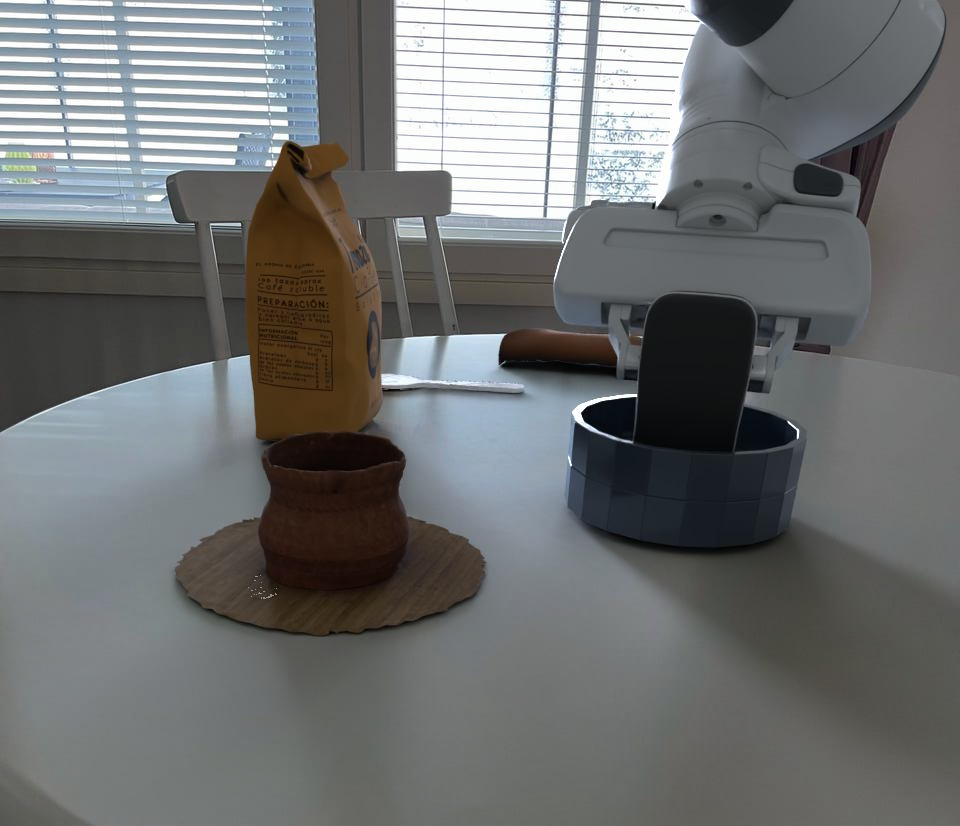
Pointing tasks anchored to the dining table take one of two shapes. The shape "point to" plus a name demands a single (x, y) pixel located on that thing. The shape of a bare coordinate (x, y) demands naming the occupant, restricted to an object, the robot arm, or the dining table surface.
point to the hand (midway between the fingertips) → (693, 381)
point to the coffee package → (311, 302)
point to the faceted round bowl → (683, 479)
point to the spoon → (446, 384)
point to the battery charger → (694, 370)
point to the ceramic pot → (331, 545)
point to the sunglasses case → (559, 347)
